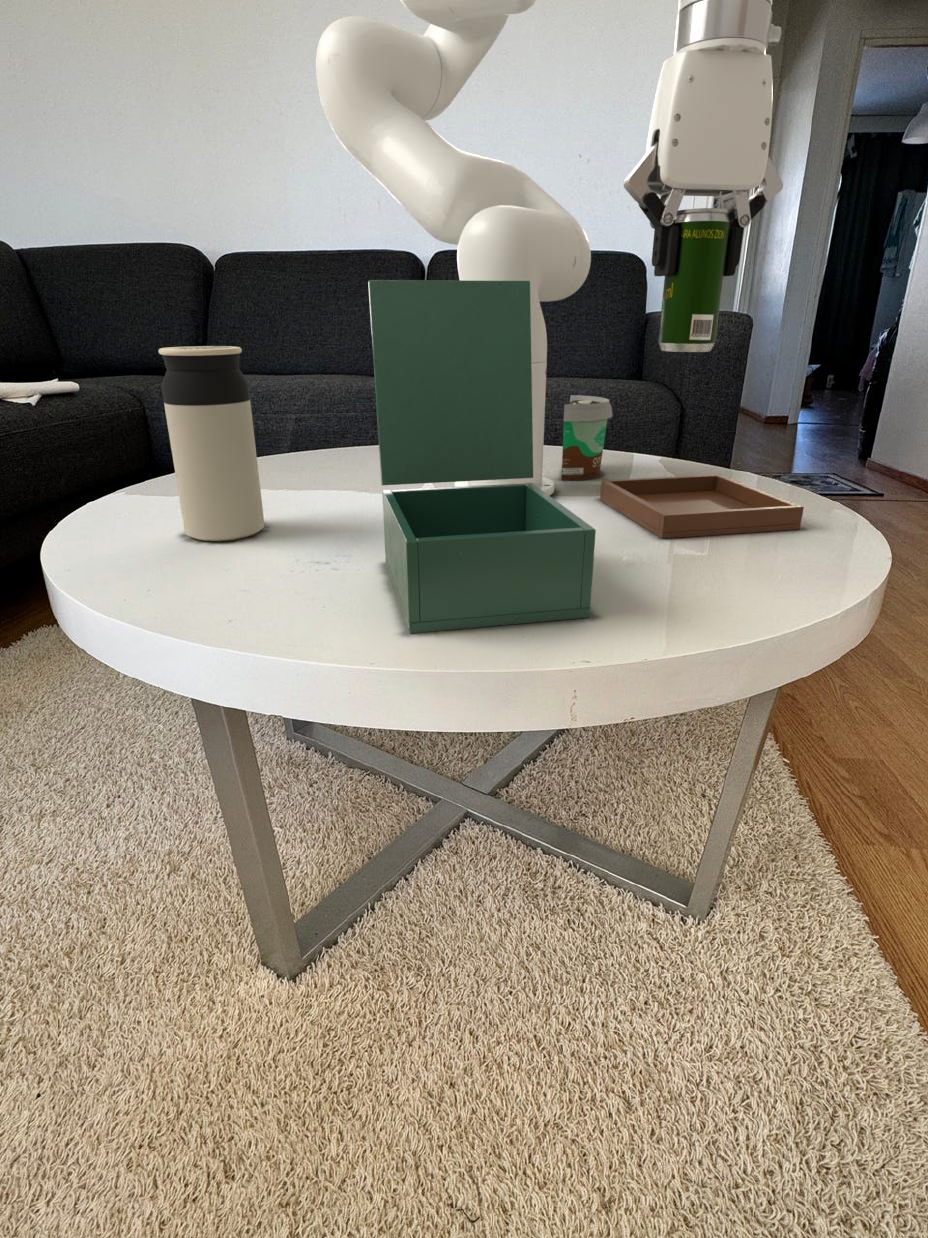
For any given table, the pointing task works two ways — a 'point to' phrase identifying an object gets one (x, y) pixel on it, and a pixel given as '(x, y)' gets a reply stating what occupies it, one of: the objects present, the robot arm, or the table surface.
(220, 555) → the table surface
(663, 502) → the tray
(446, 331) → the lid
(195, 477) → the travel mug
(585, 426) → the food container
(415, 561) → the green box
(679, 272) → the beer can
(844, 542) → the table surface
